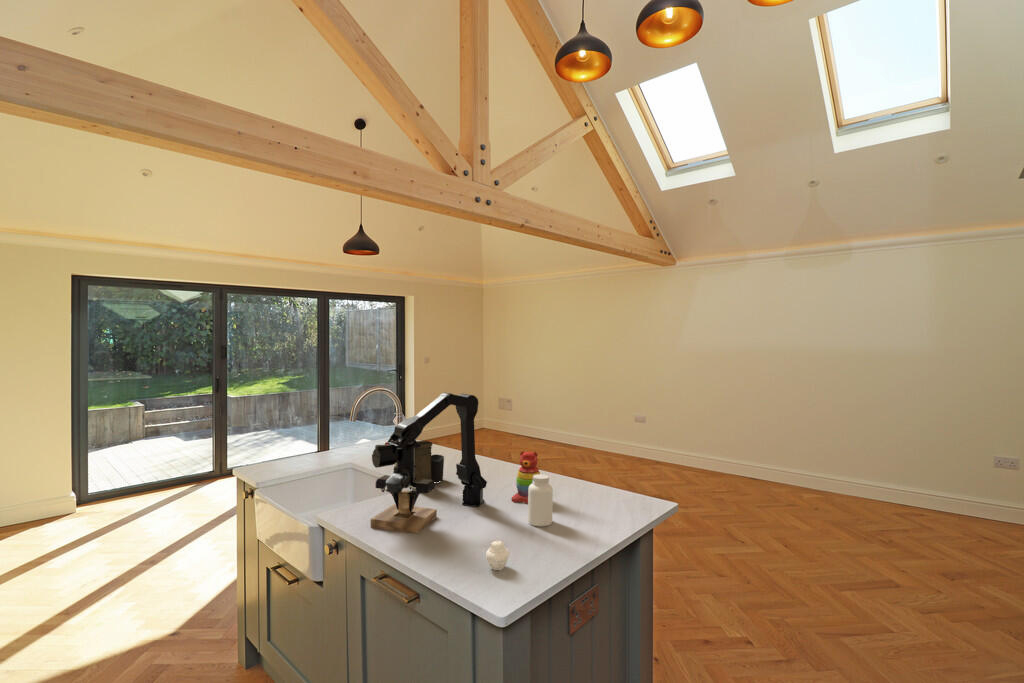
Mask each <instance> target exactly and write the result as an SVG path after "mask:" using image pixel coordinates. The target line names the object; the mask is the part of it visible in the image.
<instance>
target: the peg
mask: <svg viewBox="0 0 1024 683" xmlns="http://www.w3.org/2000/svg"><path fill="white" fill-rule="evenodd" d="M410 491H411V490H409V489H402V491H401V492H399V511H398V517H405V518H409V517H410V516H411V512H410V511H409V501H410V496H409V494H408V493H409V492H410Z"/></svg>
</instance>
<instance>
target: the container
mask: <svg viewBox="0 0 1024 683" xmlns="http://www.w3.org/2000/svg"><path fill="white" fill-rule="evenodd" d="M416 441H417V443H418V444H420V445H421V447H418V448H415V453H414V464H416V467H415V468H414V476H416V480H414V482H420V481H421V480H423V479H427V480H431V475H432V474H431V455H433V454H432V448H433V447H432V446H433V442H432V441H428V440H419V441H418V440H416ZM411 489H412V488H411ZM411 489H410V490H411Z"/></svg>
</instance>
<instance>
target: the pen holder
mask: <svg viewBox="0 0 1024 683" xmlns="http://www.w3.org/2000/svg"><path fill="white" fill-rule="evenodd" d="M444 463H445V456H444V455H441V454H431V474H432V475H431V480H433V481H434V482H439V481H443V479H444V466H445V464H444Z"/></svg>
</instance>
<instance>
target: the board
mask: <svg viewBox="0 0 1024 683" xmlns="http://www.w3.org/2000/svg"><path fill="white" fill-rule="evenodd" d="M398 511H399V510H397V507H396V504H395V503H393V504H392V505H390V506H388V507H387V508H385V509H384V510H383V511H380V512H379V513H377V514H376V515H374V516H372V517H371V518H370V527H371V528H376V529H382V528H383V529H384V530H389V531H391V530H392V531H397V532H405V533H412V534H418V533H419V532H420V531H421V530H423V529H424V528H425V527H427V525H429V524H430V523H431V522H432V521H433V520H434V519H436V518H437V512H438V511H437V509H436V508H429V507H420V506H414V507H413V510H412V511H411V516H410V517H409V518H405V517H398Z"/></svg>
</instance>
